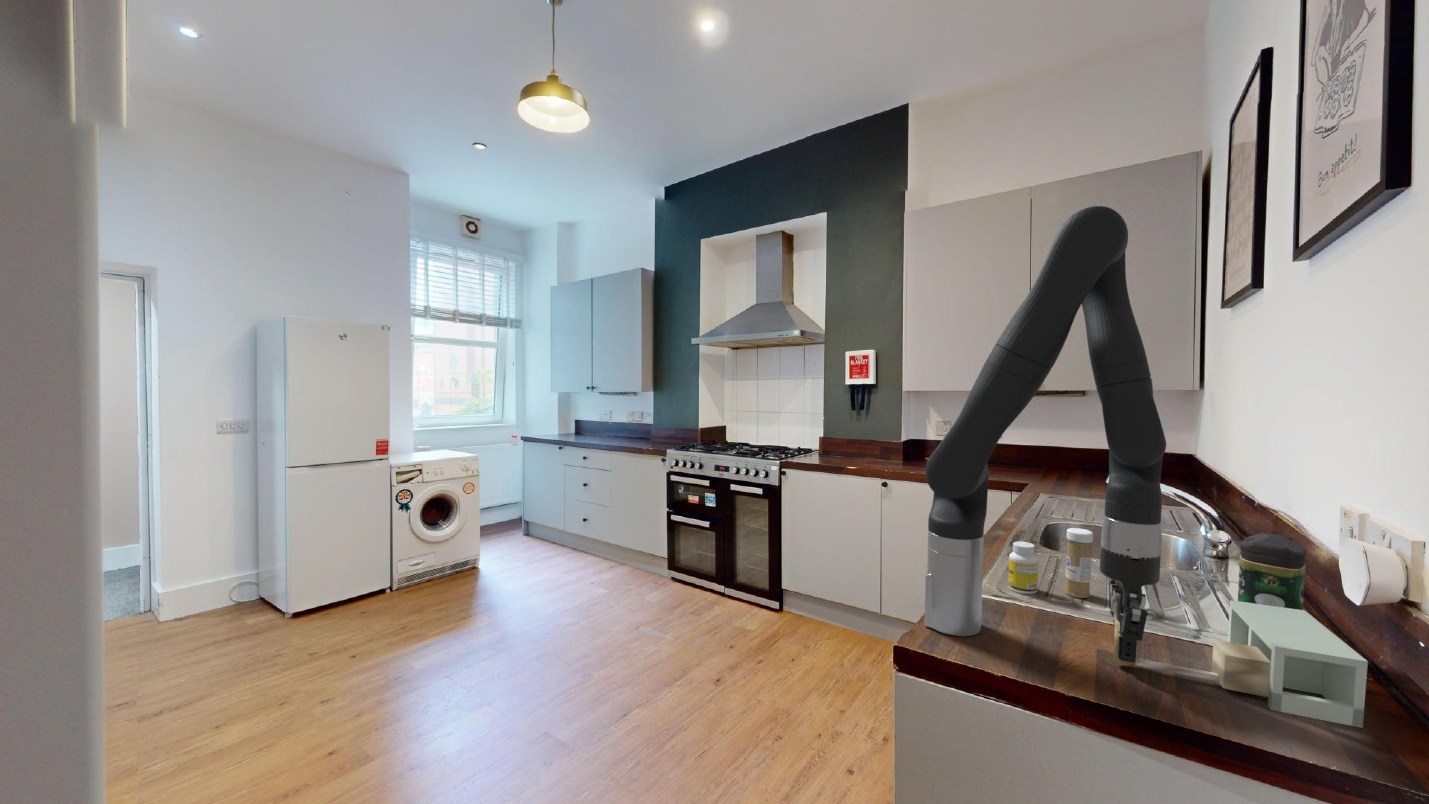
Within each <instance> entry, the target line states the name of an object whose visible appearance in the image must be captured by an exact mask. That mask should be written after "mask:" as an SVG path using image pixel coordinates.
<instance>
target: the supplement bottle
mask: <svg viewBox="0 0 1429 804" xmlns="http://www.w3.org/2000/svg"><path fill="white" fill-rule="evenodd" d="M1035 547H1036V546H1035V545H1034V543H1031V542H1028V541H1027V542H1026V541H1014V542H1013V543H1012V552H1011V553H1010V554H1009V556H1008V588H1009V589H1010V590H1011V591H1013V592H1015V593H1018V594H1022V595H1034V594H1036V593H1037V592H1038V583H1039V582H1038V581H1039V580H1038V579H1039V577H1038V576H1039V559H1038V558H1039V557H1038V556H1037V555H1036V554H1034V553H1035V552H1036V549H1035Z"/></svg>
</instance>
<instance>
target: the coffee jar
mask: <svg viewBox="0 0 1429 804" xmlns="http://www.w3.org/2000/svg"><path fill="white" fill-rule="evenodd" d="M1306 555H1307V550H1306V548H1305V547H1304V545H1303V544H1301V543H1299V541H1296V540H1294V539H1293V538H1292V537H1289V536H1285V535H1284V536H1283V535H1277V534H1270V533H1264V532H1260V533H1258V534H1254V535H1250V536H1247V537H1245V538H1244V539H1243V540H1242V542H1241V544H1240V554H1239V569H1238V571H1239V572H1238V586H1237V588H1238V589H1237V601H1240V602H1247V603H1254V604H1262V605H1269V606H1276V607H1283V608H1290V609H1298V610H1304V596H1305V582H1306V581H1305V579H1306V578H1305V577H1306V563H1307V561H1306V559H1307V558H1306Z"/></svg>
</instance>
